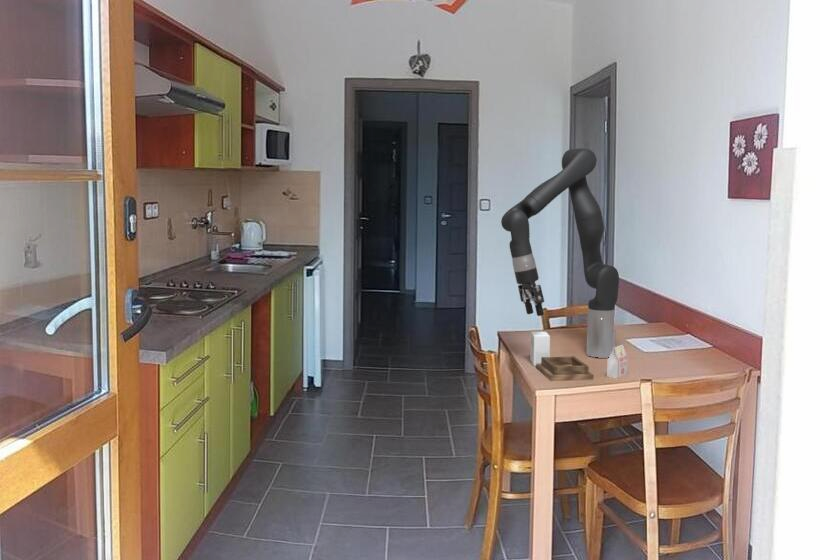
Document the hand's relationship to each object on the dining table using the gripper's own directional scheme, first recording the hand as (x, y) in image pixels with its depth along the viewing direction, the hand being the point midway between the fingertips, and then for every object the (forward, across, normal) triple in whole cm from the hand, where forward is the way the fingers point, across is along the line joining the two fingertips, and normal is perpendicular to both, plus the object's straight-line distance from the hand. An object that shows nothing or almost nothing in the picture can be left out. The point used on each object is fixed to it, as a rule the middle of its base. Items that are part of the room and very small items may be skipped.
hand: (535, 314), depth 248 cm
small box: (+18, +3, +1) cm, 18 cm away
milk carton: (+24, -18, -15) cm, 34 cm away
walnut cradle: (+19, -11, -1) cm, 22 cm away
